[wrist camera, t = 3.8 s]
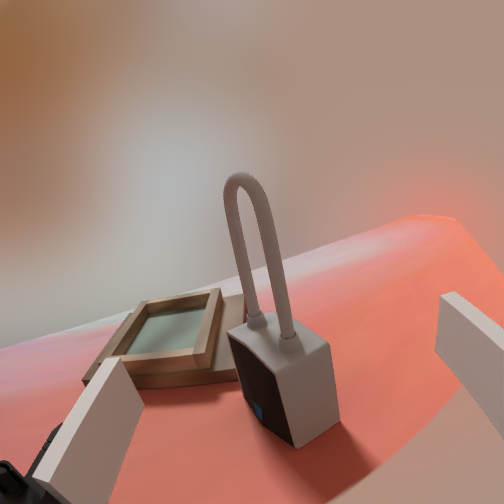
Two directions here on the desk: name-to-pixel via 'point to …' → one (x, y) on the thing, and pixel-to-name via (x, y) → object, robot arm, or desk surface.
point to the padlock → (277, 339)
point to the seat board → (177, 340)
